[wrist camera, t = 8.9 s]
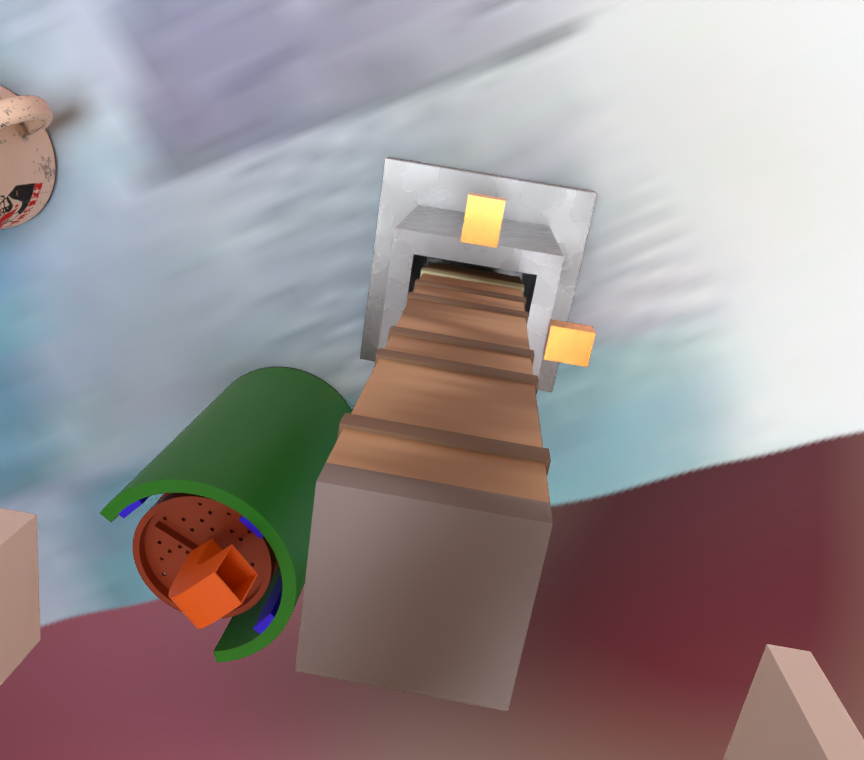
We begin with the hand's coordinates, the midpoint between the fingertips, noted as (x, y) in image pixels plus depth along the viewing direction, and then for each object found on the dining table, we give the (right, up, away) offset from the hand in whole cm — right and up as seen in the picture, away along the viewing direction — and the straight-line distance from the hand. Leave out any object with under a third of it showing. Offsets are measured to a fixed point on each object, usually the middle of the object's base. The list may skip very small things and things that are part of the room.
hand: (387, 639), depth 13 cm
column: (+2, +8, +22) cm, 24 cm away
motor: (-9, +1, +36) cm, 37 cm away
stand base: (+3, +11, +31) cm, 33 cm away
